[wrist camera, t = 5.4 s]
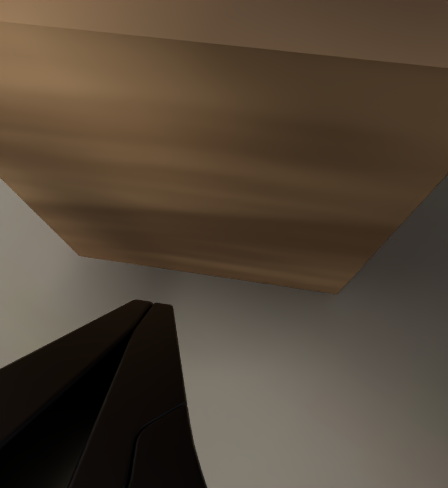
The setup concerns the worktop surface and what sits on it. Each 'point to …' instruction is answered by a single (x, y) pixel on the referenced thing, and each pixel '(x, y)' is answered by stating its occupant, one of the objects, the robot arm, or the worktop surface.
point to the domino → (225, 129)
